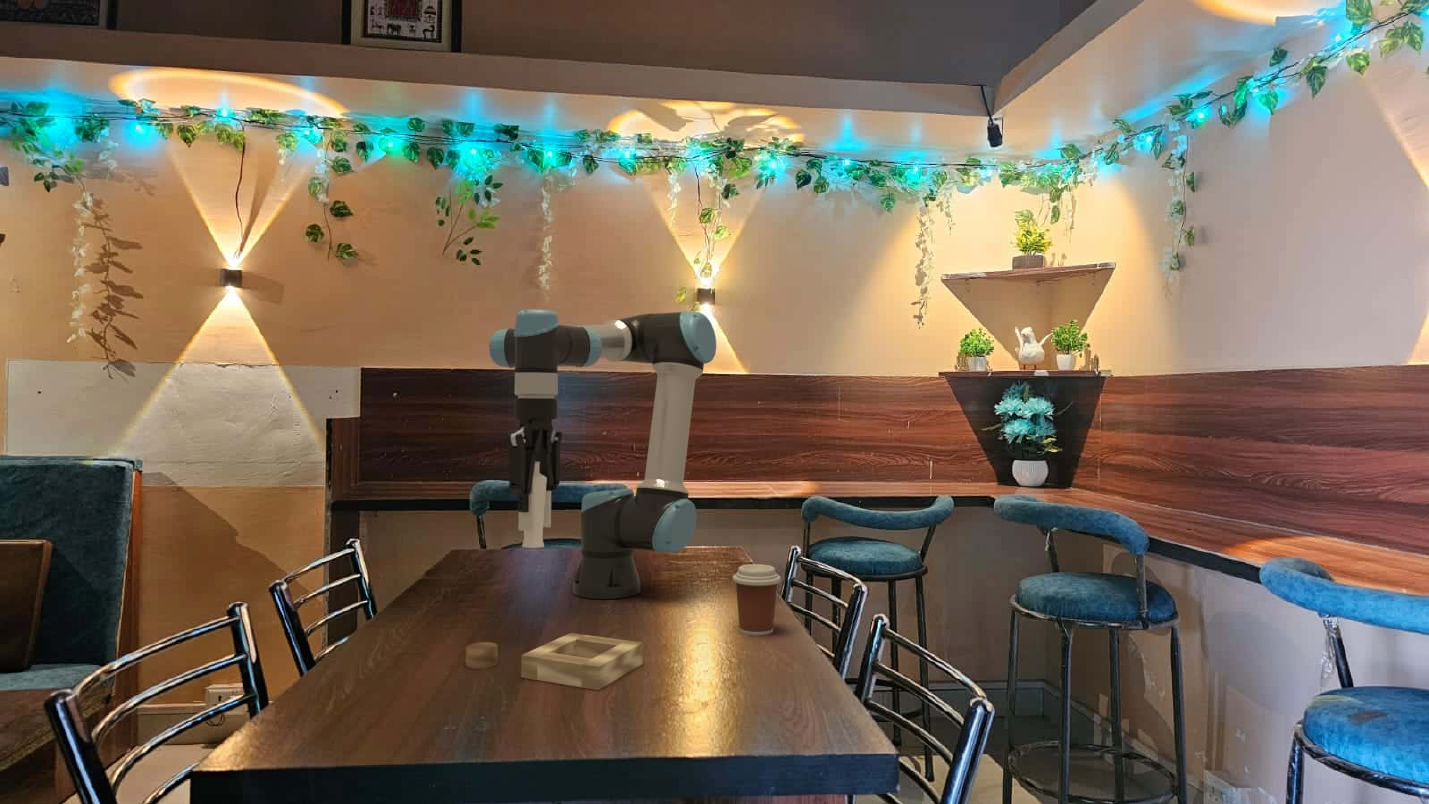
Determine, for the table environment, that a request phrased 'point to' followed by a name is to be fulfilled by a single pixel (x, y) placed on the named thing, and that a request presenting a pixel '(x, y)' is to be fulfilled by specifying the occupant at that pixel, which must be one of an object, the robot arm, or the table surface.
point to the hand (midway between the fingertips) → (534, 528)
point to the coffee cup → (756, 598)
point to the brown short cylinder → (481, 655)
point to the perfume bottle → (537, 510)
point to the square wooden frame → (582, 661)
